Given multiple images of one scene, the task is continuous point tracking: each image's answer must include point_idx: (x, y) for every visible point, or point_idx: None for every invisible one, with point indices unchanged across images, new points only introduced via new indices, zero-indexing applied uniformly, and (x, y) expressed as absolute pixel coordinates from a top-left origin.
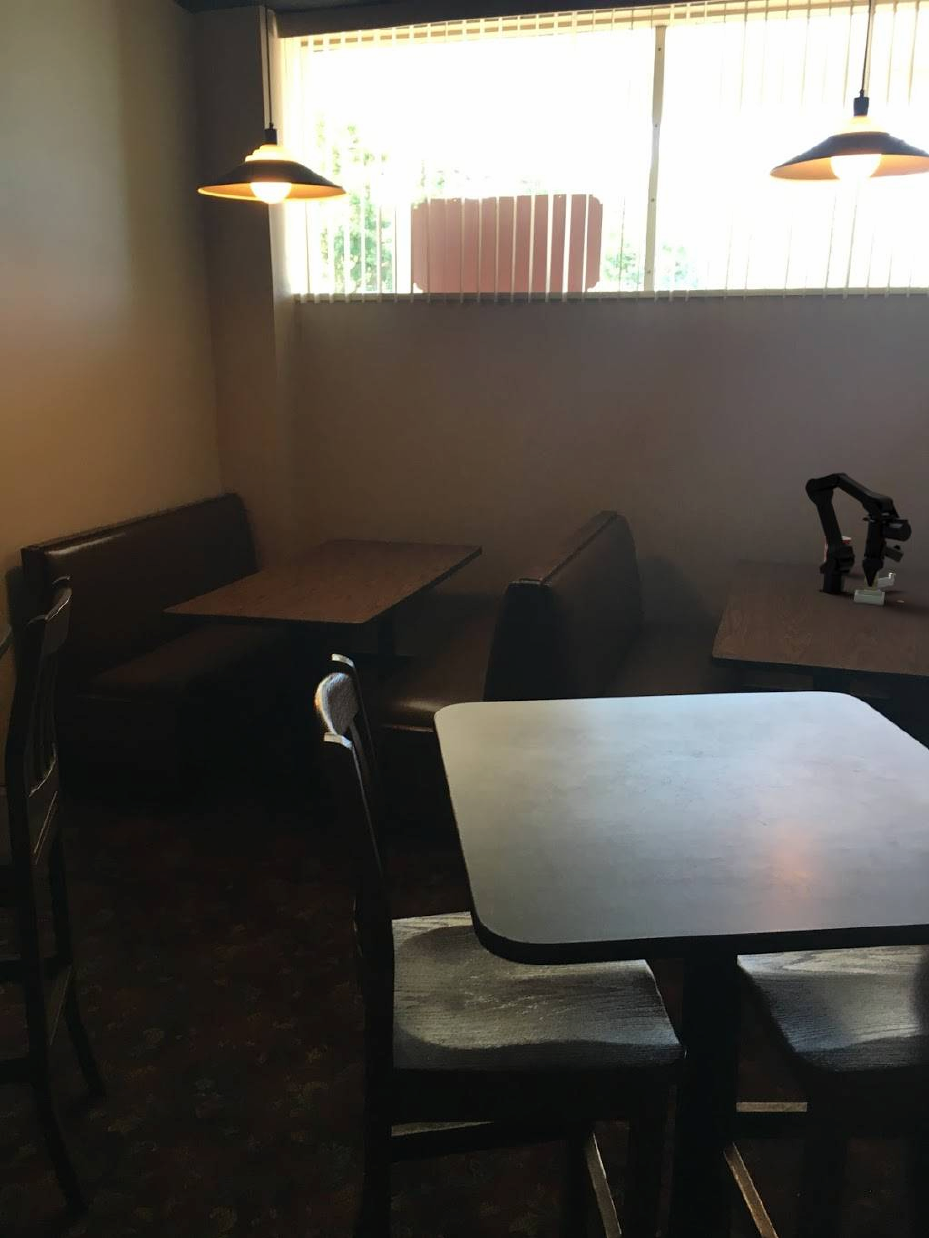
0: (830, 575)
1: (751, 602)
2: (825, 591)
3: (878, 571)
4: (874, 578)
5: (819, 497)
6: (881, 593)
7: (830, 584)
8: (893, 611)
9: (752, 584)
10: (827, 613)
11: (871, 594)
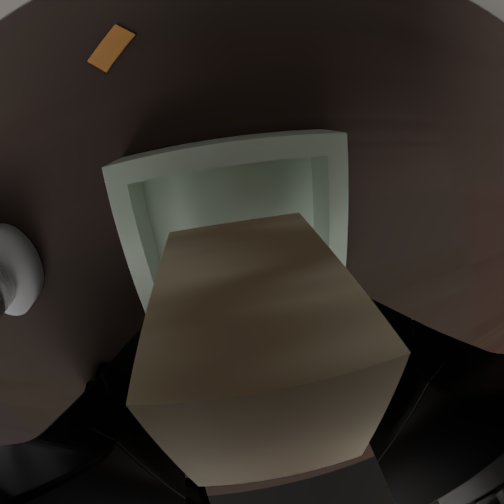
0: None
1: None
2: None
3: (325, 390)
4: (398, 315)
5: None
6: (129, 184)
7: None
8: (443, 79)
9: (211, 489)
10: (500, 300)
11: (151, 249)
